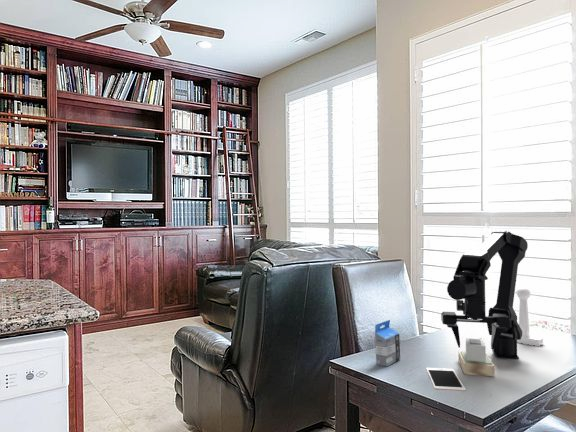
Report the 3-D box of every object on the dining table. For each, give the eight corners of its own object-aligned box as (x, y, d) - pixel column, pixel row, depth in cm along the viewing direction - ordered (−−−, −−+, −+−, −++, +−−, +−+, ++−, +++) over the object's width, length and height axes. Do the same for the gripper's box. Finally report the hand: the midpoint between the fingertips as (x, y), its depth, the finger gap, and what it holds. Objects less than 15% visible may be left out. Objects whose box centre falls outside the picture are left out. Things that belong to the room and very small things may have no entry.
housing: (483, 353, 130) (483, 338, 130) (485, 362, 123) (485, 345, 123) (465, 352, 132) (465, 336, 132) (466, 360, 125) (466, 344, 125)
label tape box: (386, 367, 129) (386, 326, 129) (375, 364, 132) (374, 324, 132) (400, 360, 136) (400, 321, 136) (389, 357, 139) (388, 319, 139)
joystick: (505, 340, 157) (504, 285, 157) (514, 336, 162) (513, 283, 162) (538, 346, 148) (537, 289, 148) (546, 342, 153) (545, 286, 153)
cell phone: (453, 370, 127) (453, 368, 127) (466, 392, 111) (466, 389, 111) (425, 369, 128) (425, 367, 128) (434, 390, 112) (434, 388, 112)
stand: (486, 362, 132) (486, 351, 132) (494, 376, 121) (494, 364, 121) (458, 360, 134) (458, 350, 134) (464, 374, 123) (464, 362, 123)
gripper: (502, 292, 133) (503, 342, 133) (439, 290, 138) (439, 339, 138) (511, 298, 123) (512, 353, 122) (442, 296, 127) (443, 349, 127)
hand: (475, 348), depth 128 cm, fingers open, 9 cm apart
